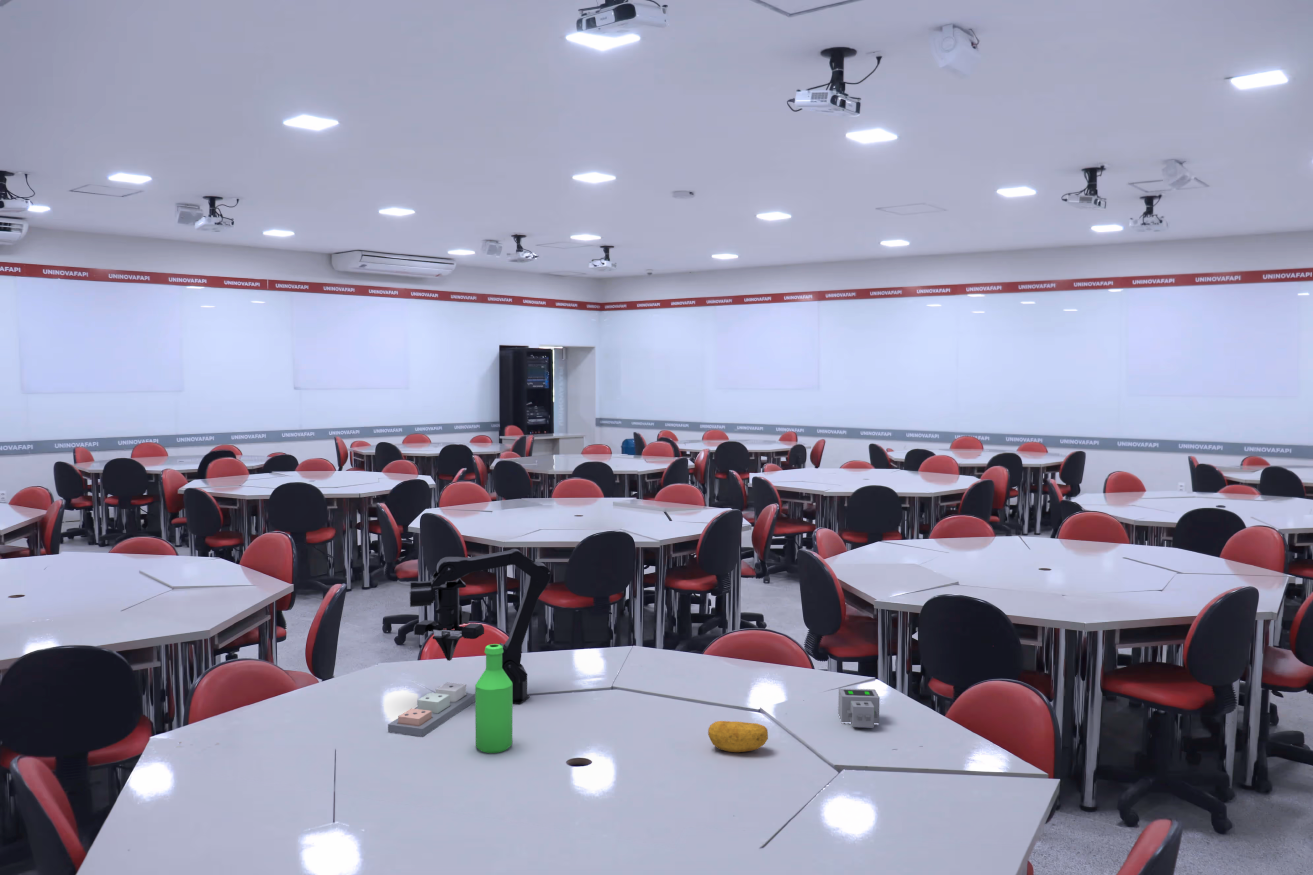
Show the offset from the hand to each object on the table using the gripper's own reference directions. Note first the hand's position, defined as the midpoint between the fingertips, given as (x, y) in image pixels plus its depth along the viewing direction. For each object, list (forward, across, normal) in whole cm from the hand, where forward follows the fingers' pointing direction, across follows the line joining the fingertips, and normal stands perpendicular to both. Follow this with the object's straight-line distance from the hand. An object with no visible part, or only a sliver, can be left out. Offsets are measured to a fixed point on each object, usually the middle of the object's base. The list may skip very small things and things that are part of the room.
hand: (449, 660), depth 236 cm
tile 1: (+11, 0, -1) cm, 11 cm away
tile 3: (+12, +1, +17) cm, 21 cm away
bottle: (+13, -24, +23) cm, 36 cm away
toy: (+15, -109, -20) cm, 112 cm away
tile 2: (+11, 0, +8) cm, 13 cm away
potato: (+14, -82, +8) cm, 83 cm away
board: (+13, 0, +8) cm, 15 cm away
